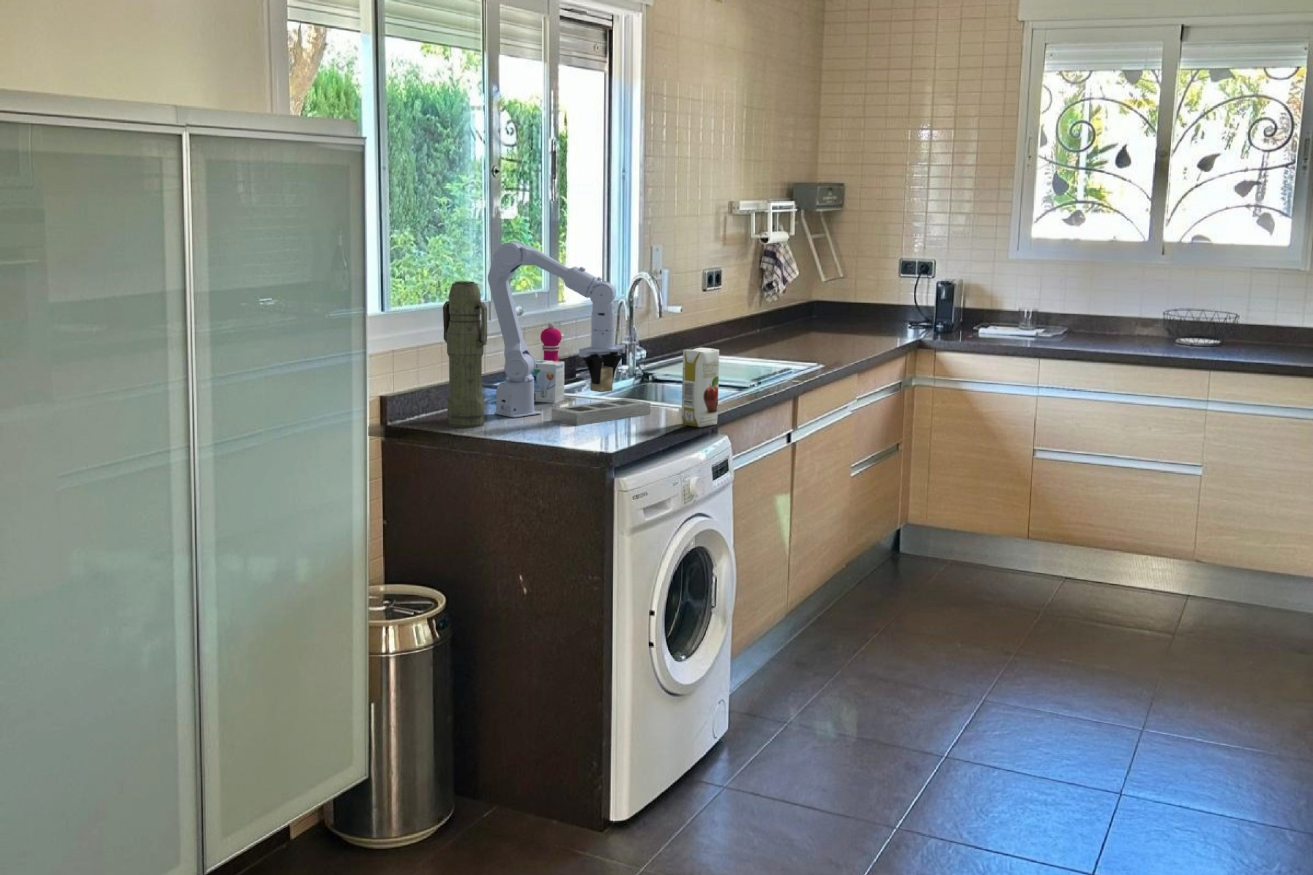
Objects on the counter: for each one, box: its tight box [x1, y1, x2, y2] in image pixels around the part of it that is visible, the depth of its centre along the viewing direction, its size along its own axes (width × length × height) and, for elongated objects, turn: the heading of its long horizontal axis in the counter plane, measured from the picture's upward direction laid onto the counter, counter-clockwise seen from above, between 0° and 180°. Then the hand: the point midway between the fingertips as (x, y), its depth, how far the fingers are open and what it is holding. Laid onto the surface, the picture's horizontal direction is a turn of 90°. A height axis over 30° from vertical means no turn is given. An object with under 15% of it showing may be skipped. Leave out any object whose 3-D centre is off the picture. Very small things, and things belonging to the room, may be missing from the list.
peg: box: [589, 365, 614, 393], centre depth 334 cm, size 4×4×6 cm
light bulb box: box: [531, 359, 565, 404], centre depth 360 cm, size 11×7×11 cm, turn 73°
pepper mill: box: [540, 322, 563, 361], centre depth 373 cm, size 7×7×20 cm
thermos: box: [442, 280, 488, 429], centre depth 319 cm, size 9×12×35 cm
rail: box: [551, 397, 651, 427], centre depth 336 cm, size 26×10×3 cm, turn 136°
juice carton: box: [681, 347, 720, 428], centre depth 327 cm, size 8×9×19 cm
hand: (602, 382), depth 334 cm, fingers closed on peg, 4 cm apart
